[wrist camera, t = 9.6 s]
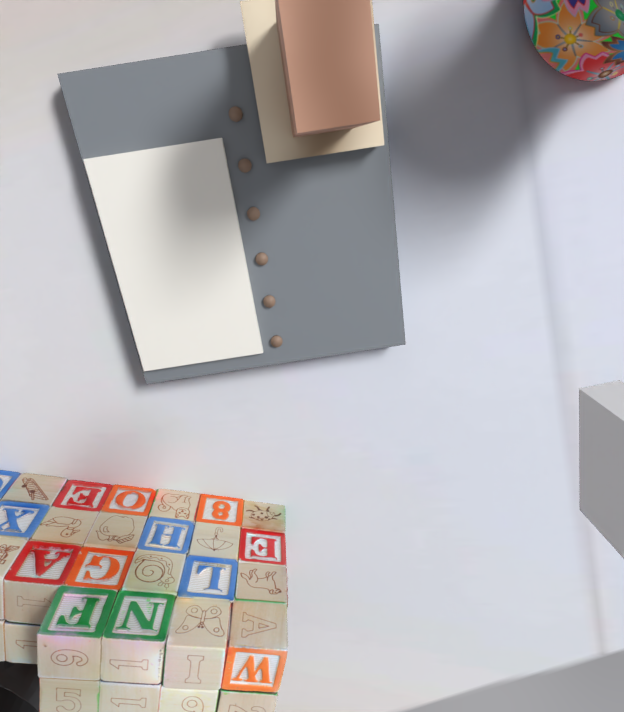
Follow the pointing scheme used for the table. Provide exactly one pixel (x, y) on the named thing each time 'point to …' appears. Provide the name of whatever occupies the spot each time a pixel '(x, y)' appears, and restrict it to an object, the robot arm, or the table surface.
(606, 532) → the robot arm
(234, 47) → the board
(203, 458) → the table surface
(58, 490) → the stack of blocks
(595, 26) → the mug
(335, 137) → the stub
